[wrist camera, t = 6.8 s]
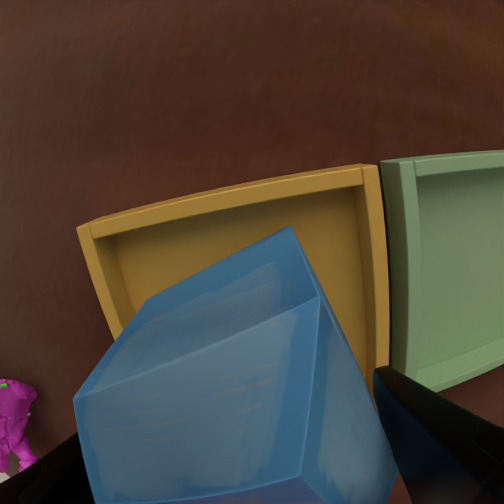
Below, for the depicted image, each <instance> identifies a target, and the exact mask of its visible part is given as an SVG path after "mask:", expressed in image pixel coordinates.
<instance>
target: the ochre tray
mask: <svg viewBox="0 0 504 504" xmlns="http://www.w3.org/2000/svg"><path fill="white" fill-rule="evenodd" d="M288 225H291V227H292V229H293V231H294V233H295V235H296V237H297V239H298V241H299V243H300V245H301V247H302V249H303V250H304V252H305V254H306V256H307V258H308V260H309V262H310V264H311V266H312V268H313V270H314V272H315V274H316V276H317V278H318V280H319V282H320V284H321V286H322V289H323V291H324V293H325V295H326V297H327V299H328V301H329V303H330V305H331V307H332V309H333V311H334V313H335V315H336V317H337V320H338V322H339V324H340V326H341V328H342V330H343V332H344V334H345V336H346V339H347V341H348V343H349V345H350V347H351V349H352V351H353V354H354V356H355V358H356V361H357V363H358V365H359V368H360V370H361V372H362V375H363V377H364V380H365V382H366V384H367V387H368V389H369V392H370V394H371V397H372V399H373V401H374V404H375V406H376V403H375V400H374V397H373V370H374V369H375V368H378V367H381V366H385V365H387V366H389V282H388V262H387V247H386V234H385V223H384V213H383V204H382V196H381V188H380V180H379V173H378V167H377V165H369V164H354V165H347V166H340V167H334V168H327V169H321V170H315V171H308V172H302V173H297V174H291V175H285V176H280V177H274V178H269V179H263V180H258V181H253V182H248V183H243V184H238V185H233V186H228V187H223V188H218V189H214V190H209V191H204V192H200V193H195V194H191V195H187V196H182V197H178V198H174V199H169V200H165V201H161V202H157V203H153V204H149V205H145V206H141V207H137V208H133V209H129V210H125V211H122V212H118V213H114V214H110V215H107V216H103V217H100V218H97V219H95V220H92V221H90V222H88V223H85V224H83V225H81V226H79V227H77V233H78V236H79V240H80V243H81V247H82V250H83V253H84V257H85V260H86V263H87V266H88V269H89V272H90V275H91V278H92V281H93V284H94V287H95V290H96V293H97V296H98V299H99V301H100V304H101V307H102V309H103V312H104V315H105V317H106V320H107V323H108V325H109V328H110V330H111V333H112V335H113V337H114V340H116V339H117V338H118V336H119V335H120V334H121V332H122V331H123V330H124V328H125V327H126V326H127V324H128V323H129V322H130V321H131V319H132V318H133V317H134V315H135V314H136V313H137V312H138V310H139V309H140V308H141V306H142V305H143V304H144V303H145V301H146V300H147V299H148V298H150V297H152V296H154V295H156V294H157V293H159V292H161V291H163V290H165V289H167V288H169V287H171V286H173V285H175V284H177V283H178V282H180V281H182V280H184V279H186V278H188V277H190V276H192V275H194V274H196V273H198V272H199V271H201V270H203V269H205V268H207V267H209V266H211V265H213V264H215V263H217V262H219V261H221V260H223V259H224V258H226V257H228V256H230V255H232V254H234V253H236V252H238V251H240V250H242V249H244V248H246V247H248V246H250V245H251V244H253V243H255V242H257V241H259V240H261V239H263V238H265V237H267V236H269V235H271V234H273V233H275V232H277V231H279V230H280V229H282V228H284V227H286V226H288ZM376 409H377V407H376ZM377 411H378V410H377Z"/></svg>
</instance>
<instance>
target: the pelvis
mask: <svg viewBox="0 0 504 504" xmlns="http://www.w3.org/2000/svg"><path fill="white" fill-rule="evenodd" d="M37 396H38V393H37V390H36V389H35V388H34V387H33V386H31V385H27V384H25V383H21V382H18V381H14V380H8V379H0V472H1V473H4V472H7V471H8V469H9V461H8V459H7V455H8V454H10V453H11V451H13V452H14V453H16V455H17V456H18V457H19V458H20V459H21V461H20V462H19V463H20V465H21V466H20V467H19V472H21V471H23V470H24V469H26V468H27V467H29V466H30V465H32V464H33V463H35V462H36V461H38V460H39V457H38V456H35V455H34V454H33V453H32V451H31V449H30V442H29V439H28V437H27V435H26V434H25V433H24V431H25V429H26V426H27V423H28V418H29V417H30V414H31V412H29V408H30V405H31V402H32V401H33V400H34V399H35V398H36V397H37Z"/></svg>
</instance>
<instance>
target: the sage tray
mask: <svg viewBox="0 0 504 504" xmlns="http://www.w3.org/2000/svg"><path fill="white" fill-rule="evenodd" d="M380 168H381V175H382V182H383V190H384V198H385V207H386V217H387V228H388V240H389V254H390V271H391V301H392V341H391V367H392V368H393V369H395V370H397V371H399V372H400V373H402V374H404V375H406V376H407V377H409V378H411V379H413V380H415V381H416V382H418V383H420V384H422V385H423V386H425V387H427V388H429V389H431V390H432V391H434V392H438V391H441V390H444V389H446V388H449V387H452V386H454V385H457V384H459V383H462V382H464V381H466V380H469V379H471V378H473V377H476V376H478V375H480V374H483V373H485V372H487V371H489V370H491V369H493V368H496V367H498V366H500V365H502V364H504V150H492V151H476V152H462V153H450V154H439V155H429V156H419V157H409V158H401V159H392V160H384V161H380Z"/></svg>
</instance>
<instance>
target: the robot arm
mask: <svg viewBox="0 0 504 504" xmlns="http://www.w3.org/2000/svg"><path fill="white" fill-rule="evenodd" d="M373 397H374V400H375V403H376V407H377V410H378V414H379V417H380V420H381V424H382V426H383V429H384V432H385V434H386V437H387V439H388V442H389V444H390V447H391V450H392V454H393V457H394V460H395V462H396V464H397V467H398V469H399V471H400V474H401V476H402V479H403V481H404V483H405V486H406V488H407V491H408V493H409V496H410V498H411V501H412V503H413V504H504V428H503V427H500V426H498V425H496V424H494V423H492V422H490V421H488V420H486V419H484V418H482V417H480V416H478V415H475V414H474V413H473V412H471V411H469V410H467V409H465V408H463V407H462V406H460V405H458V404H456V403H454V402H452V401H451V400H449V399H447V398H445V397H443V396H441V395H440V394H438V393H436V392H434V391H432V390H431V389H429V388H427V387H425V386H423V385H422V384H420V383H418V382H416V381H415V380H413V379H411V378H409V377H407V376H406V375H404V374H402V373H400V372H399V371H397V370H395V369H393V368H392V367H390V366H387V365H385V366H381V367H378V368H375V369H374V370H373ZM0 504H95V500H94V497H93V493H92V490H91V486H90V483H89V479H88V475H87V471H86V467H85V462H84V458H83V453H82V449H81V444H80V439H79V433H78V432H77V433H75V434H74V435H73V436H71V437H70V438H68V439H67V440H66V441H64V442H63V443H61V444H60V445H59V446H57V447H56V448H55V449H53V450H52V451H50V452H49V453H47V454H46V455H45V456H43V457H42V459H39V460H38V461H36V462H35V463H33V464H32V465H30V466H29V467H27V468H26V469H24V470H23V471H21V472H19V473H18V474H16V475H14V476H13V477H11V478H9V479H7V480H6V481H4V482H2V483H0Z"/></svg>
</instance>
